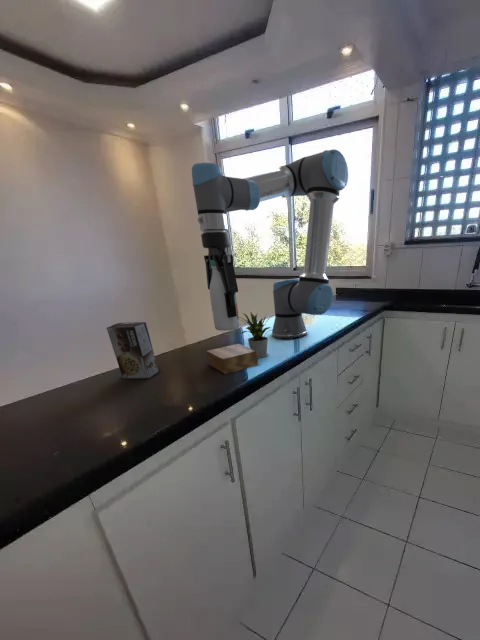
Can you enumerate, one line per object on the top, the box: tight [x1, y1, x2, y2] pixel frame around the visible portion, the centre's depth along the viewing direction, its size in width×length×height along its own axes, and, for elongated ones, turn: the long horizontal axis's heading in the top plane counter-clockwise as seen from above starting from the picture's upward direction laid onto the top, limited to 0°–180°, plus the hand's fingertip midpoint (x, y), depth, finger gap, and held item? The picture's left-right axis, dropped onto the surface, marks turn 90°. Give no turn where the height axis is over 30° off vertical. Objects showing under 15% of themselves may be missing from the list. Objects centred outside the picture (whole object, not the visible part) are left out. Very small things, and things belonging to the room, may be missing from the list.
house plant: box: [236, 311, 274, 359], centre depth 109 cm, size 14×14×16 cm
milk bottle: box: [209, 260, 240, 332], centre depth 94 cm, size 8×8×20 cm
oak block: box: [206, 343, 259, 375], centre depth 103 cm, size 12×12×5 cm
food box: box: [105, 321, 159, 379], centre depth 95 cm, size 9×6×16 cm
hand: (225, 315), depth 97 cm, fingers closed on milk bottle, 8 cm apart
